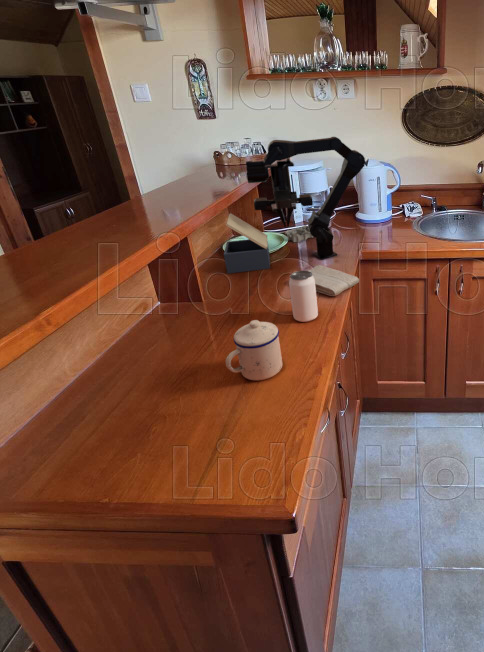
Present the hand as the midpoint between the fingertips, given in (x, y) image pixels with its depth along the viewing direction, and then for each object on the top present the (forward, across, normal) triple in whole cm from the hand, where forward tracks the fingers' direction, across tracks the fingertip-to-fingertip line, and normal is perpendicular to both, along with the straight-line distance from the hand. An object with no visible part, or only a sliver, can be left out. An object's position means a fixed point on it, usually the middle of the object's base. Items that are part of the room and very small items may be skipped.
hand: (286, 226), depth 143 cm
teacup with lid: (+12, -10, -63) cm, 65 cm away
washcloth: (+12, +10, -24) cm, 28 cm away
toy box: (+12, -14, 0) cm, 18 cm away
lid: (0, -13, 0) cm, 13 cm away
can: (+12, +2, -42) cm, 44 cm away
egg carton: (+12, +5, +22) cm, 26 cm away
